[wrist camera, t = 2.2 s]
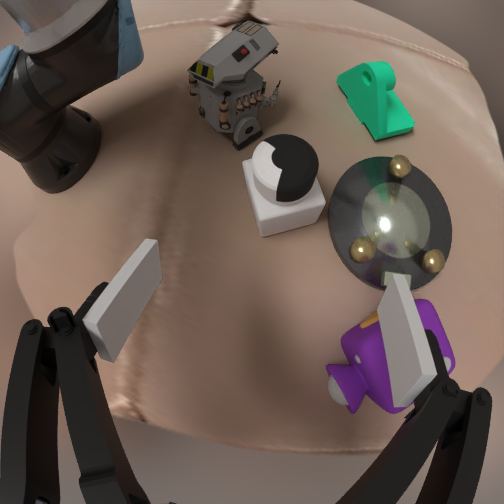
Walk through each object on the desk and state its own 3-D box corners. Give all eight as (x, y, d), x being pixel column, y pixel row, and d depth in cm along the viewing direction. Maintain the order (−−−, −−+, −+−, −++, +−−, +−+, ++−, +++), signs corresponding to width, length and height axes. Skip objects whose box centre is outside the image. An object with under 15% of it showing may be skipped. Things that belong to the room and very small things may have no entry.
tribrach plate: (320, 282, 34) (326, 279, 31) (332, 150, 37) (336, 137, 34) (444, 298, 33) (458, 296, 29) (442, 176, 36) (454, 167, 32)
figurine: (293, 116, 39) (302, 38, 24) (229, 158, 38) (209, 82, 23) (255, 83, 40) (249, 8, 26) (194, 119, 40) (166, 46, 25)
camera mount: (410, 134, 38) (438, 95, 27) (373, 144, 37) (397, 101, 27) (372, 80, 40) (388, 37, 30) (335, 86, 40) (346, 40, 30)
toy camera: (302, 361, 32) (315, 381, 23) (385, 287, 34) (423, 278, 24) (353, 420, 30) (379, 453, 21) (429, 347, 32) (473, 356, 22)
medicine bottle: (299, 173, 37) (309, 118, 25) (316, 223, 36) (337, 184, 24) (246, 186, 37) (236, 135, 25) (261, 238, 36) (256, 204, 24)
